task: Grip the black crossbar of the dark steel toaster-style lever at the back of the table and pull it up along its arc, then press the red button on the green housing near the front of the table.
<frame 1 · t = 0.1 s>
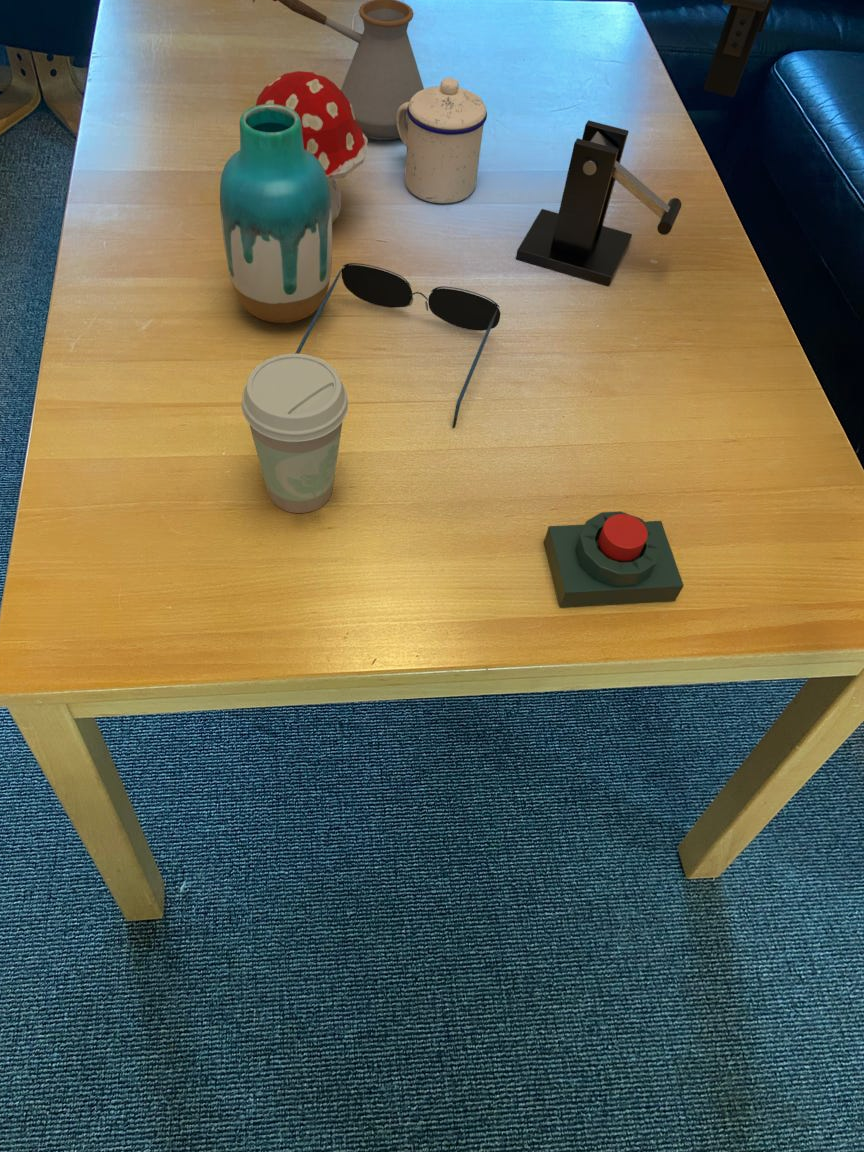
hand: (733, 59, 78), 22 cm above the table, tool pointing down, fingers open, 13 cm apart
button housing: (608, 571, 74), on the table
coffee cup: (300, 490, 77), on the table
lever: (631, 183, 90), point 9 cm above the table, hinge at -25.0°
decorative mushroom: (307, 218, 100), on the table
button: (622, 537, 70), point 5 cm above the table, slide at 0.2 cm
teacup with lid: (431, 181, 105), on the table
sunglasses: (396, 360, 87), on the table
coffee pot: (344, 124, 111), on the table
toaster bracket: (573, 251, 98), on the table
vase: (282, 309, 91), on the table
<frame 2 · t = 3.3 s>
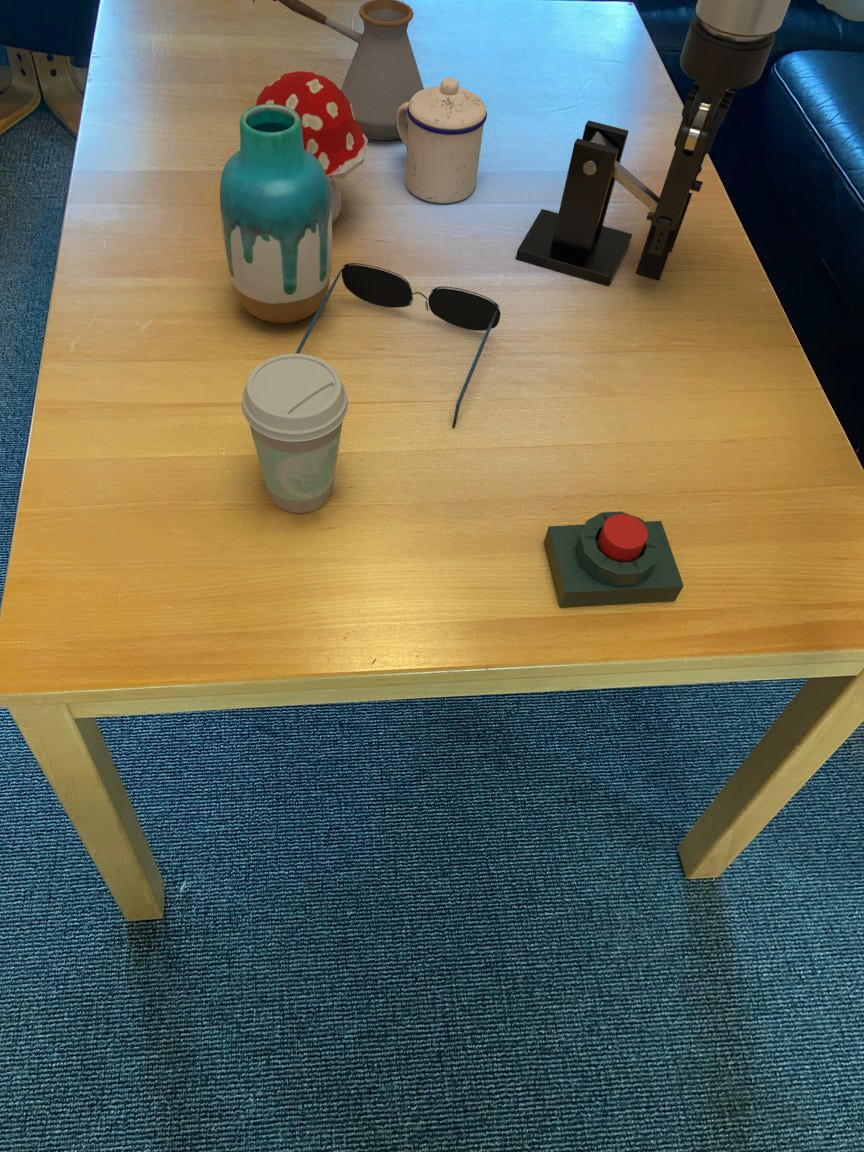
hand: (654, 261, 95), 2 cm above the table, tool pointing down, fingers closed on lever, 5 cm apart
lever: (631, 183, 90), point 9 cm above the table, hinge at -25.0°, touching gripper
everything else where it was.
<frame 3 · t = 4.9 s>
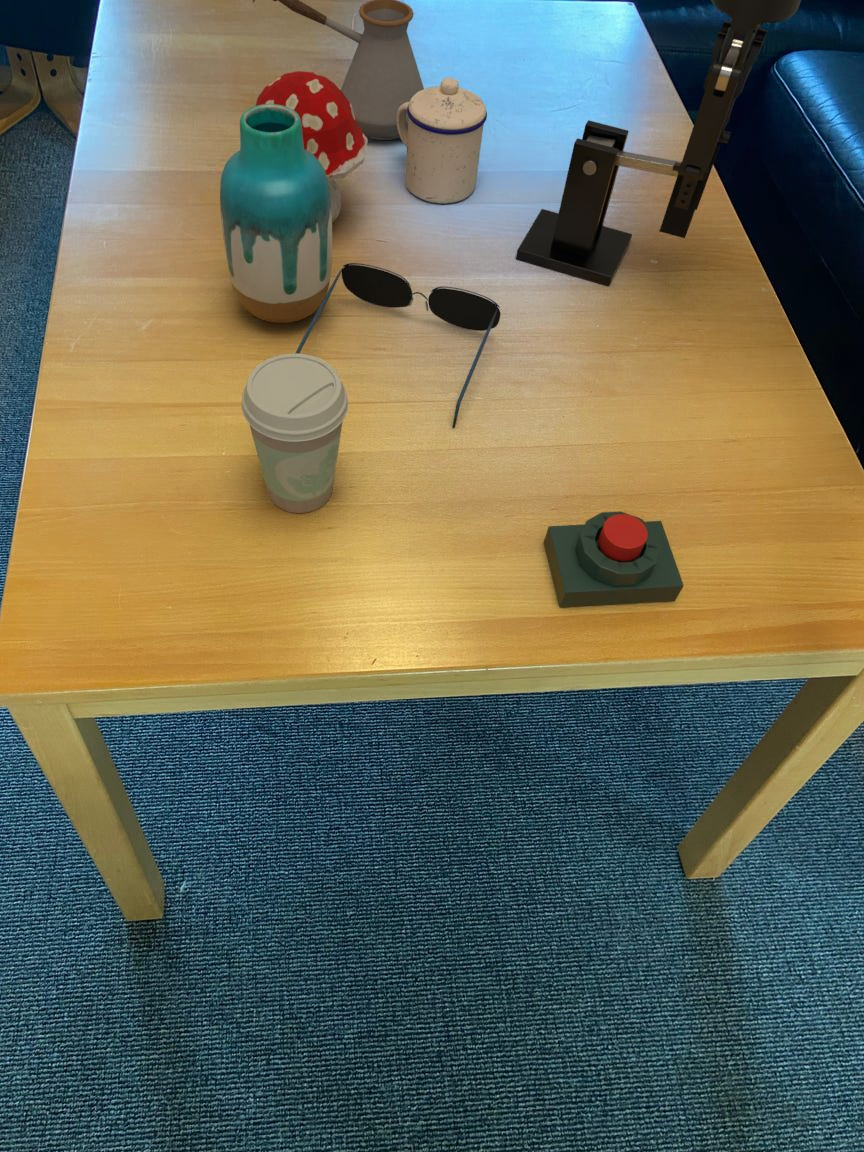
hand: (679, 218, 91), 7 cm above the table, tool pointing down, fingers closed on lever, 5 cm apart
lever: (641, 162, 88), point 11 cm above the table, hinge at 4.2°, touching gripper
everything else where it was.
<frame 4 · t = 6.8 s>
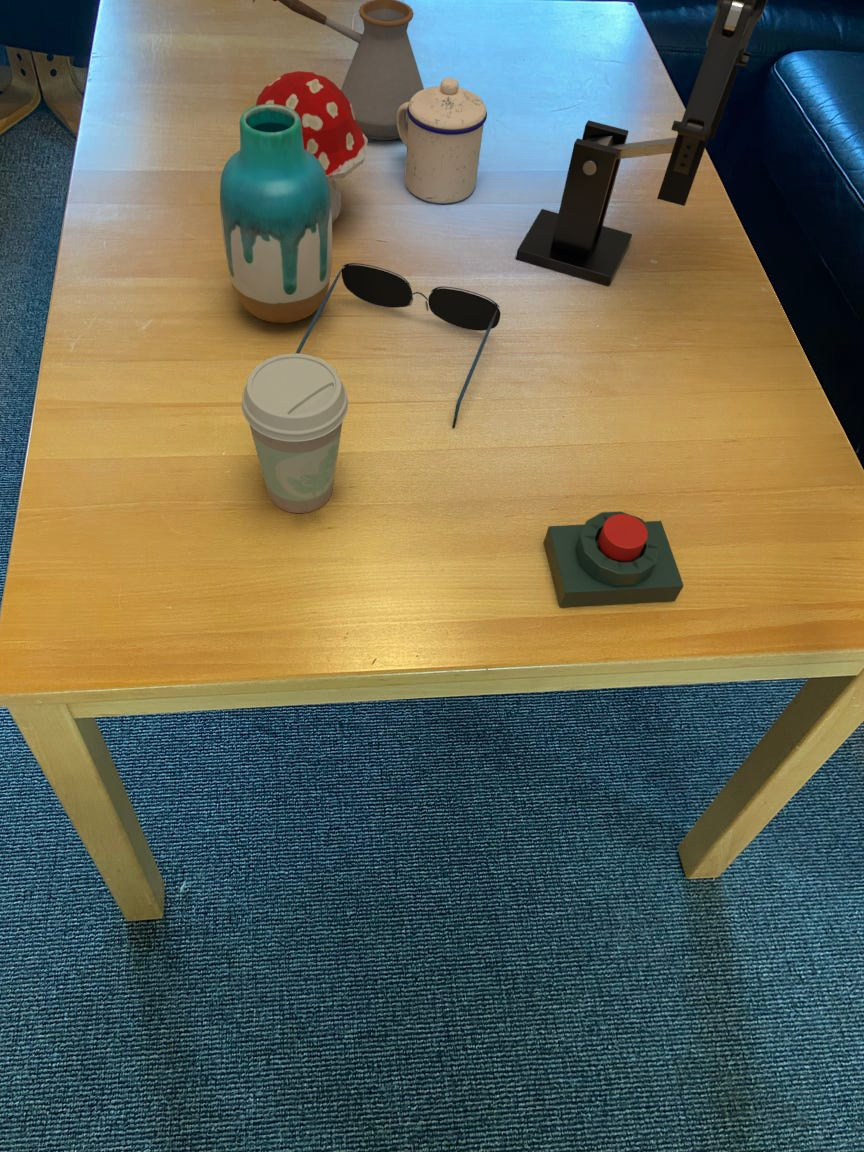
hand: (686, 166, 86), 12 cm above the table, tool pointing down, fingers open, 13 cm apart
lever: (642, 148, 87), point 13 cm above the table, hinge at 20.6°
everything else where it was.
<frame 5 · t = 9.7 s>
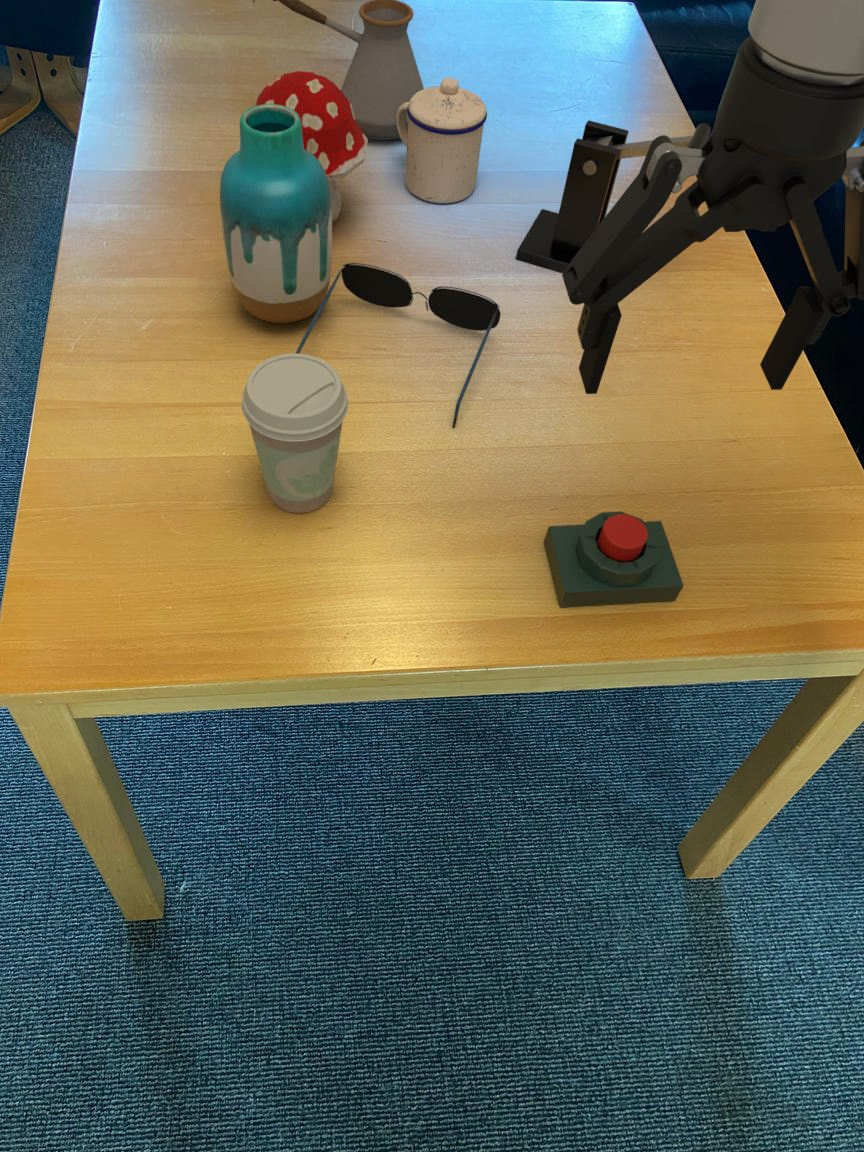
hand: (679, 379, 62), 17 cm above the table, tool pointing down, fingers open, 13 cm apart
nothing on the table moved.
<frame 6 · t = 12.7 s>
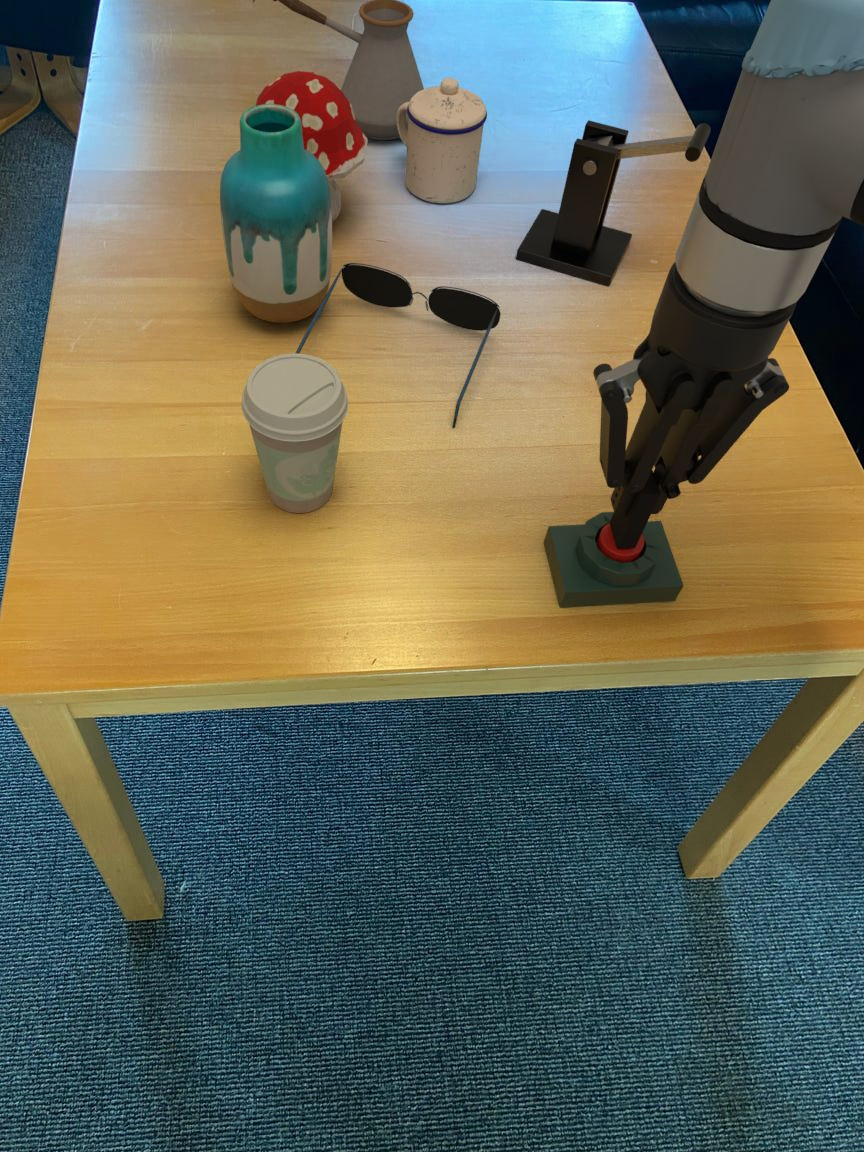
hand: (622, 535, 70), 5 cm above the table, tool pointing down, fingers closed
button: (619, 544, 71), point 4 cm above the table, slide at -0.8 cm, touching gripper
everything else where it was.
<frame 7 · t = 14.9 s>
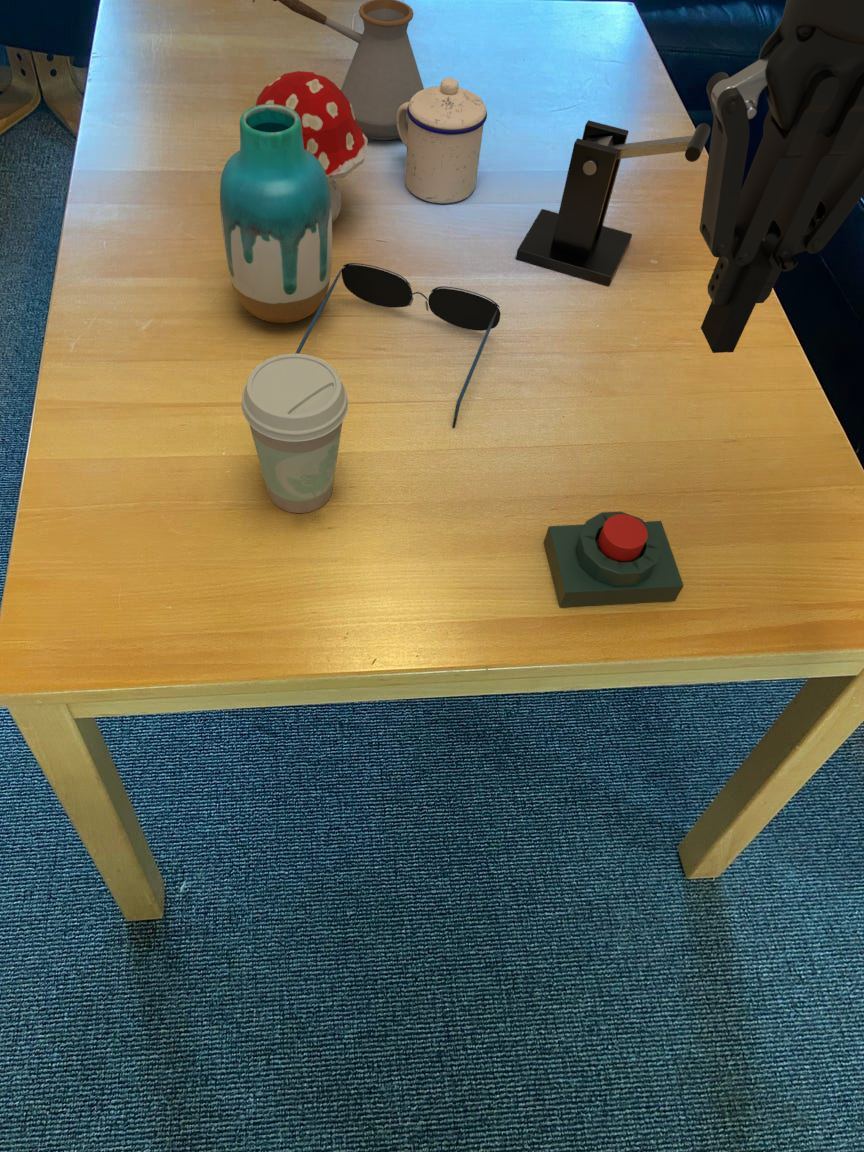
hand: (716, 339, 60), 20 cm above the table, tool pointing down, fingers closed
button: (622, 537, 70), point 5 cm above the table, slide at 0.1 cm
everything else where it was.
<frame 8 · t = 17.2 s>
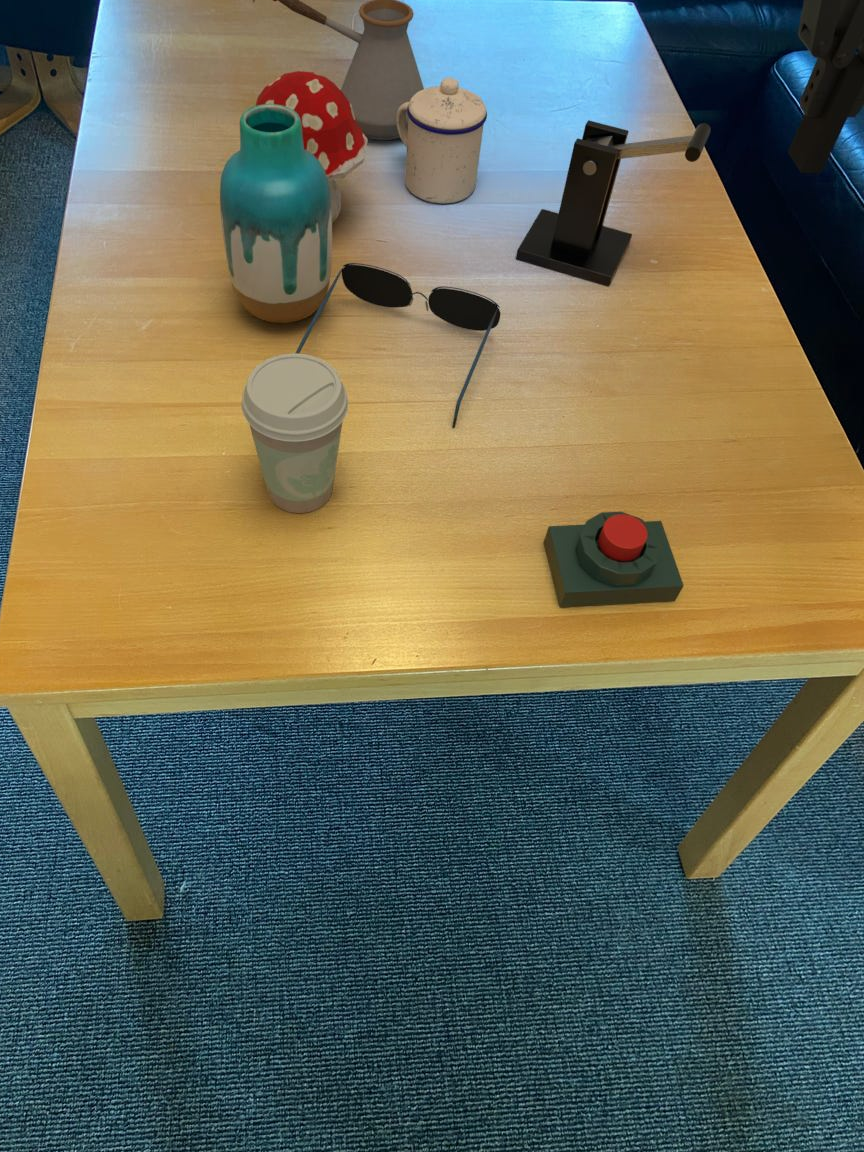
hand: (804, 161, 61), 26 cm above the table, tool pointing down, fingers closed
nothing on the table moved.
at the end: lever at +21° (first picture: -25°); button pushed in 1.0 cm at the most during the clip, back to where it started at the end; button slide at 0.1 cm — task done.
